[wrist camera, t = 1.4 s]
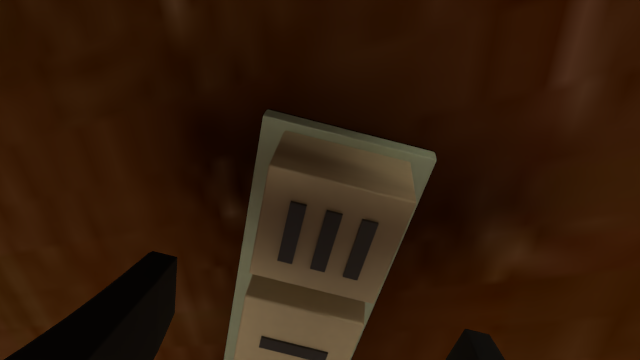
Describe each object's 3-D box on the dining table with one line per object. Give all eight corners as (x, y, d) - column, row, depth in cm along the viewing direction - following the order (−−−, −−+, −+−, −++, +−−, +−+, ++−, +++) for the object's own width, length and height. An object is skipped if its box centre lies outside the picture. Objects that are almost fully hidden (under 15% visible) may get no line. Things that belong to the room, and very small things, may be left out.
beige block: (373, 256, 16) (373, 307, 14) (265, 228, 16) (247, 276, 14) (411, 161, 14) (418, 204, 12) (284, 129, 14) (267, 166, 12)
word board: (329, 402, 23) (322, 466, 20) (222, 376, 23) (201, 437, 20) (435, 151, 14) (449, 203, 12) (266, 108, 14) (241, 150, 12)
